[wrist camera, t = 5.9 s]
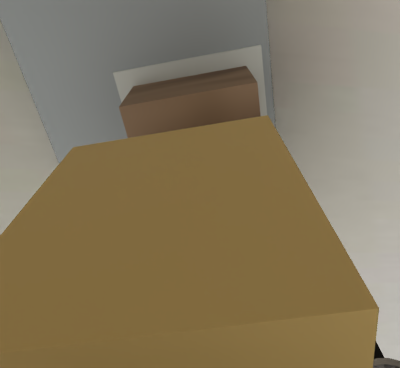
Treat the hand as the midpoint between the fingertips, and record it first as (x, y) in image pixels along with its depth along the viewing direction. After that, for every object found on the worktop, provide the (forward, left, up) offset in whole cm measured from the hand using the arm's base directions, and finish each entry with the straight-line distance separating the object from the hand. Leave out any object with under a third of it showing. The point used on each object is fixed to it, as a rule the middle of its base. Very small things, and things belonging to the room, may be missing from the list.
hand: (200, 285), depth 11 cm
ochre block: (-2, 0, 0) cm, 2 cm away
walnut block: (0, 0, -14) cm, 14 cm away
